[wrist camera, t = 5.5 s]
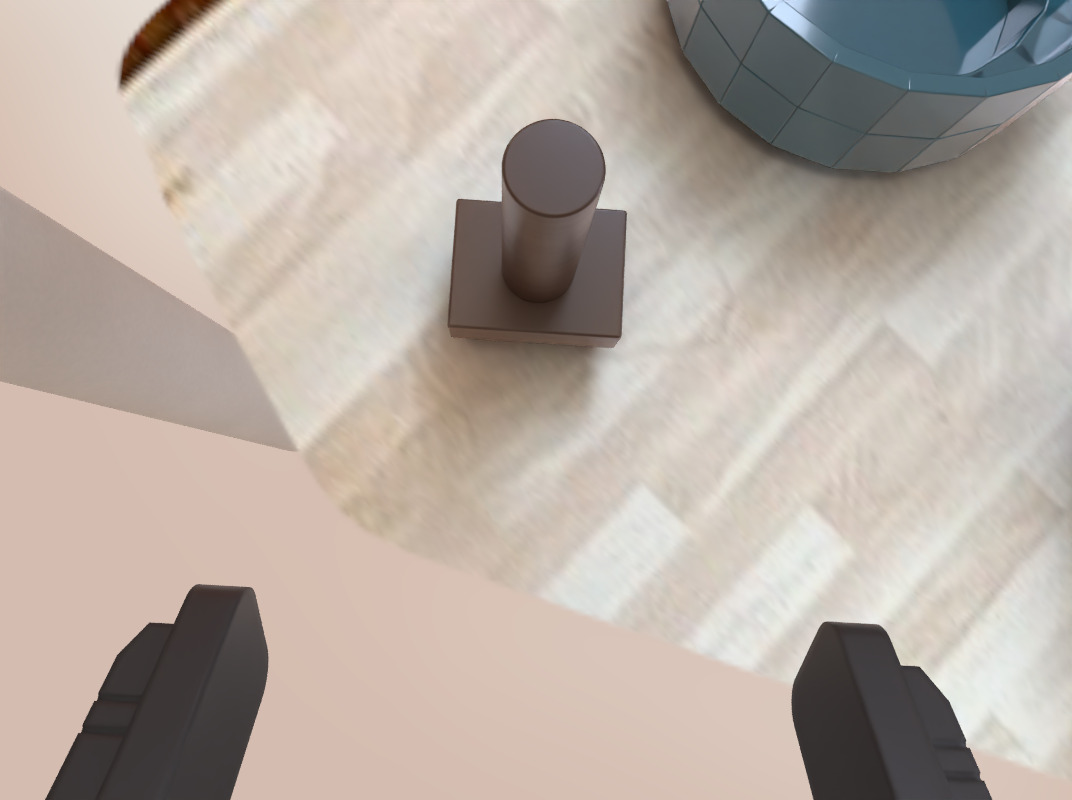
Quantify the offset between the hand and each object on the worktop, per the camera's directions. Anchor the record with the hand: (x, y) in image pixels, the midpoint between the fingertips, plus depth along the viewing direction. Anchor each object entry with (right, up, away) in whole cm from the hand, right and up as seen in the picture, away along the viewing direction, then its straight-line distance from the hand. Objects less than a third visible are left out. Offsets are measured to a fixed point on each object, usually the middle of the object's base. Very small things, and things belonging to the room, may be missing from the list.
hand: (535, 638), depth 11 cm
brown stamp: (0, +7, +16) cm, 17 cm away
